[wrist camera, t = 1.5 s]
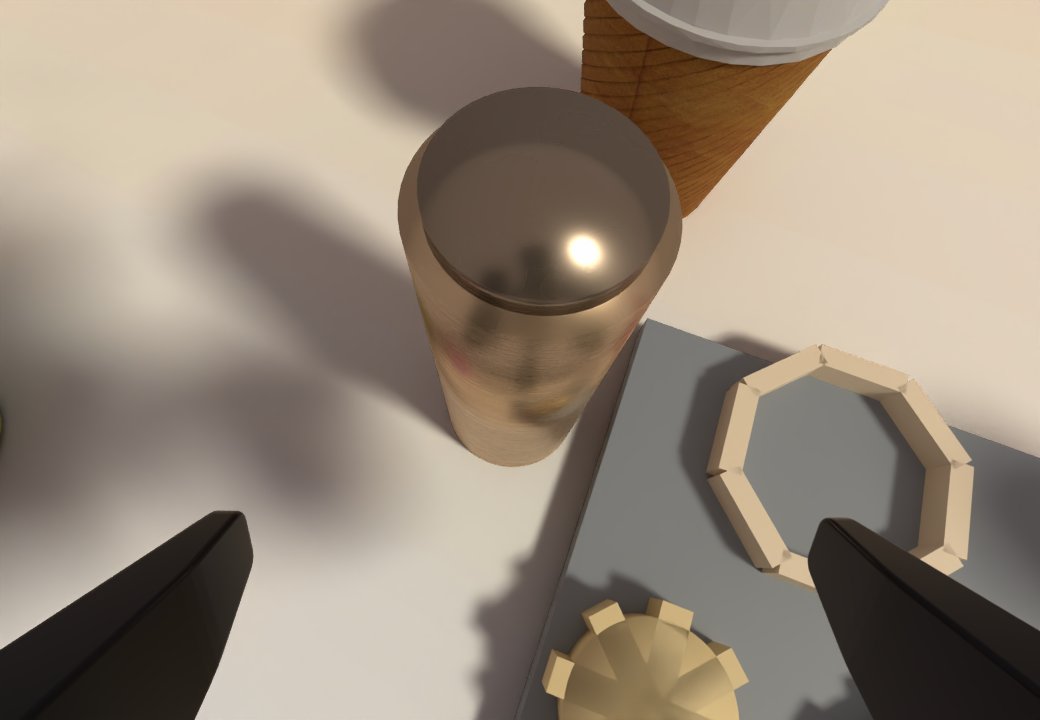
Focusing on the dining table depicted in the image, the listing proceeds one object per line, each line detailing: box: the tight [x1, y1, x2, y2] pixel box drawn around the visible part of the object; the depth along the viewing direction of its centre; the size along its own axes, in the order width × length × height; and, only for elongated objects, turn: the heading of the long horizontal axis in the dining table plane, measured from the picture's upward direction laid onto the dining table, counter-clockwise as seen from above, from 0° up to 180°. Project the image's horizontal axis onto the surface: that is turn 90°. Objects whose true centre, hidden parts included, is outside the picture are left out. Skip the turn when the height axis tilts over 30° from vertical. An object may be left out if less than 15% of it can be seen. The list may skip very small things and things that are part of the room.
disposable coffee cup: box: [580, 0, 889, 218], centre depth 20 cm, size 10×10×12 cm
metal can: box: [398, 87, 682, 467], centre depth 16 cm, size 5×5×14 cm
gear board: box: [514, 318, 1040, 720], centre depth 18 cm, size 23×16×3 cm
